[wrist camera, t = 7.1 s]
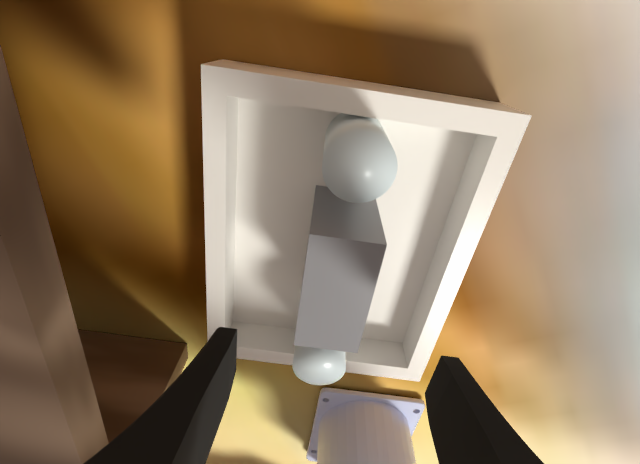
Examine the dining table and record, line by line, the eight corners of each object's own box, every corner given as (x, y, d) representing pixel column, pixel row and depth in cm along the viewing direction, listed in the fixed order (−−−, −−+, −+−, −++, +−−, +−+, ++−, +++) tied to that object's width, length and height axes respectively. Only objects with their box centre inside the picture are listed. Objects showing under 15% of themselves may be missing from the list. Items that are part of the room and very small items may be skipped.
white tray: (410, 344, 24) (430, 429, 19) (221, 319, 24) (190, 399, 19) (500, 102, 17) (576, 134, 11) (222, 59, 16) (168, 71, 11)
